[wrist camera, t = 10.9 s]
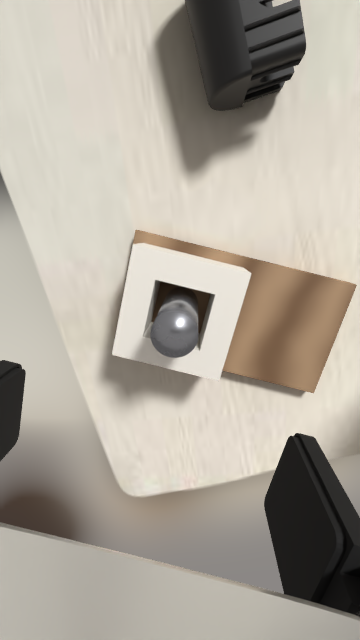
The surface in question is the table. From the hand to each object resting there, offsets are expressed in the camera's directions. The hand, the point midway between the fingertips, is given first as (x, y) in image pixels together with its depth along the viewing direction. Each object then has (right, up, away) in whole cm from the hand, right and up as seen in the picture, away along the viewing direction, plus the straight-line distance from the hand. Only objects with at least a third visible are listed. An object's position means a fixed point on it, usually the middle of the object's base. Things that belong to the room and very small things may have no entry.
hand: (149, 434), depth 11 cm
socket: (+1, +6, +21) cm, 22 cm away
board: (+6, +5, +22) cm, 24 cm away
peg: (+1, +6, +21) cm, 22 cm away
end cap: (+6, +28, +16) cm, 33 cm away
